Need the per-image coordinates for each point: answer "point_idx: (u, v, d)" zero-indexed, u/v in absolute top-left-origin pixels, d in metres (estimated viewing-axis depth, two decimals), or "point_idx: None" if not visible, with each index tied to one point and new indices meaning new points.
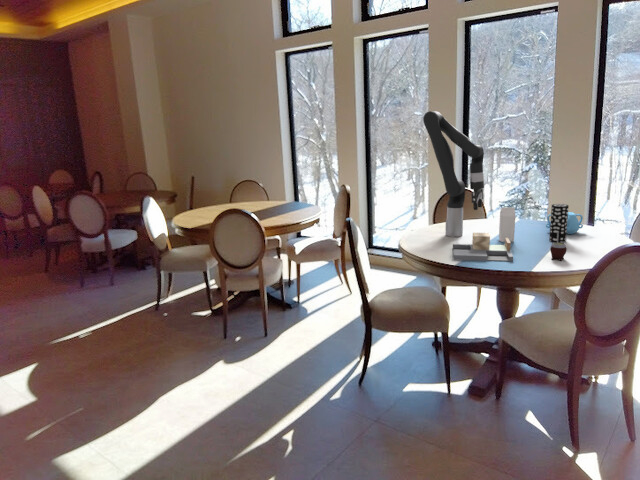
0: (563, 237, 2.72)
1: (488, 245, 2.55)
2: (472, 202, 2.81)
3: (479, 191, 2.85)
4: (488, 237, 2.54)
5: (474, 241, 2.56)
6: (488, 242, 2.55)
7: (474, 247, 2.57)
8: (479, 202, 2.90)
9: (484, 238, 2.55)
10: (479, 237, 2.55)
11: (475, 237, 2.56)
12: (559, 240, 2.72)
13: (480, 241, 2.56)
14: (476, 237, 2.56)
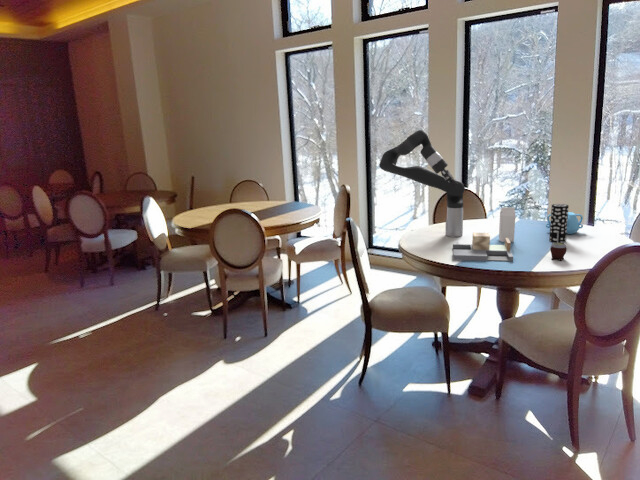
0: (563, 237, 2.72)
1: (488, 245, 2.55)
2: (448, 180, 2.55)
3: None
4: (488, 237, 2.54)
5: (474, 241, 2.56)
6: (488, 242, 2.55)
7: (474, 247, 2.57)
8: None
9: (484, 238, 2.55)
10: (479, 237, 2.55)
11: (475, 237, 2.56)
12: (559, 240, 2.72)
13: (480, 241, 2.56)
14: (476, 237, 2.56)
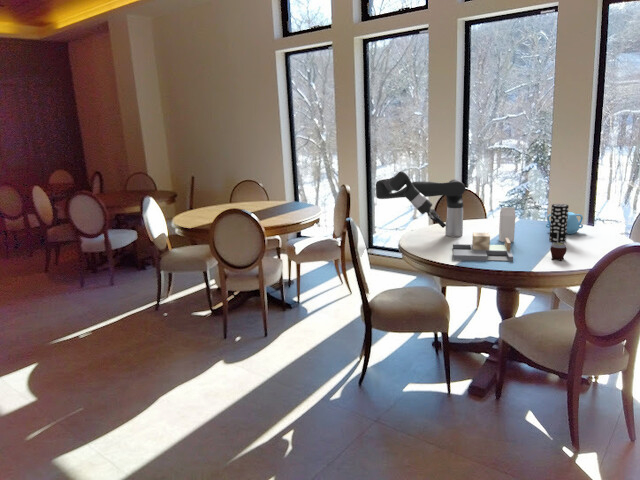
0: (563, 237, 2.72)
1: (488, 245, 2.55)
2: (437, 222, 2.59)
3: (431, 210, 2.62)
4: (488, 237, 2.54)
5: (474, 241, 2.56)
6: (488, 242, 2.55)
7: (474, 247, 2.57)
8: None
9: (484, 238, 2.55)
10: (479, 237, 2.55)
11: (475, 237, 2.56)
12: (559, 240, 2.72)
13: (480, 241, 2.56)
14: (476, 237, 2.56)
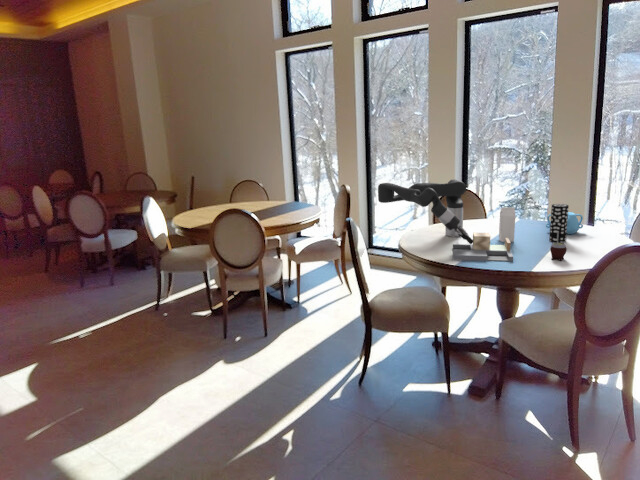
0: (563, 237, 2.72)
1: (488, 245, 2.55)
2: (465, 239, 2.58)
3: (459, 226, 2.60)
4: (488, 237, 2.54)
5: (474, 241, 2.56)
6: (488, 242, 2.55)
7: (474, 247, 2.57)
8: None
9: (484, 238, 2.55)
10: (479, 237, 2.55)
11: (475, 237, 2.56)
12: (559, 240, 2.72)
13: (480, 241, 2.56)
14: (476, 237, 2.56)
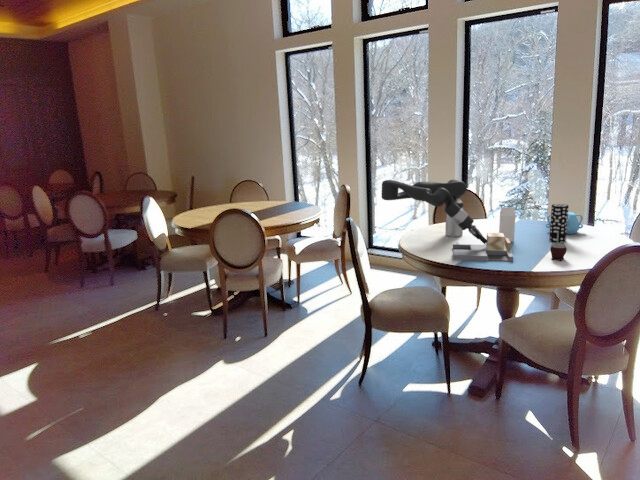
0: (563, 237, 2.72)
1: (503, 245, 2.53)
2: (479, 238, 2.57)
3: (472, 226, 2.59)
4: (503, 237, 2.52)
5: (488, 241, 2.55)
6: (502, 242, 2.53)
7: (488, 247, 2.55)
8: None
9: (499, 238, 2.53)
10: (493, 237, 2.54)
11: (489, 237, 2.54)
12: (559, 240, 2.72)
13: (494, 241, 2.54)
14: (490, 237, 2.54)
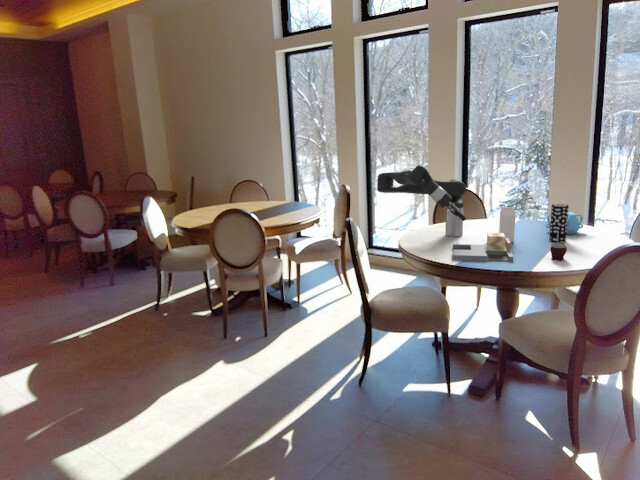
0: (563, 237, 2.72)
1: (503, 245, 2.53)
2: (457, 216, 2.56)
3: (451, 203, 2.58)
4: (503, 237, 2.52)
5: (489, 241, 2.55)
6: (503, 242, 2.53)
7: (489, 247, 2.55)
8: None
9: (499, 238, 2.53)
10: (494, 237, 2.54)
11: (490, 237, 2.54)
12: (559, 240, 2.72)
13: (495, 241, 2.54)
14: (491, 237, 2.54)
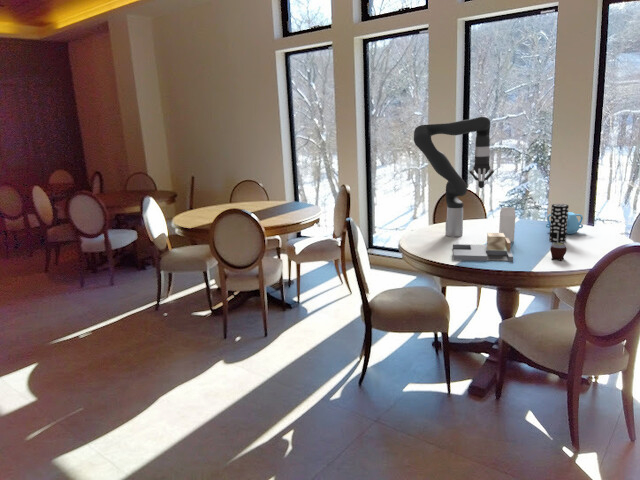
0: (563, 237, 2.72)
1: (503, 245, 2.53)
2: (486, 179, 2.63)
3: None
4: (503, 237, 2.52)
5: (489, 241, 2.55)
6: (503, 242, 2.53)
7: (489, 247, 2.55)
8: None
9: (499, 238, 2.53)
10: (494, 237, 2.54)
11: (490, 237, 2.54)
12: (559, 240, 2.72)
13: (495, 241, 2.54)
14: (491, 237, 2.54)
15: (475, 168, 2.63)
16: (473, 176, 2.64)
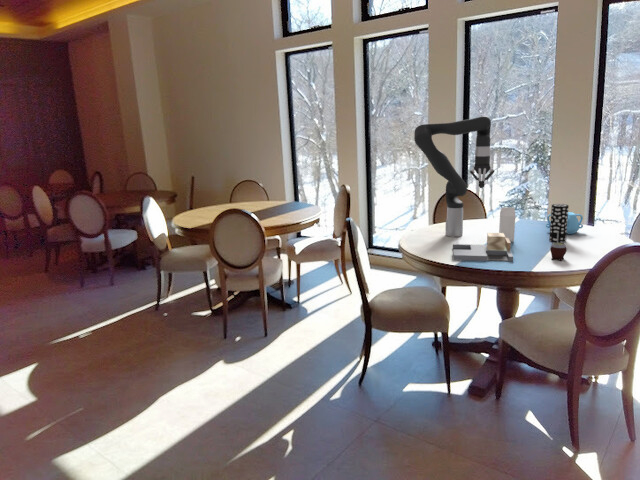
0: (563, 237, 2.72)
1: (503, 245, 2.53)
2: (487, 179, 2.63)
3: None
4: (503, 237, 2.52)
5: (489, 241, 2.55)
6: (503, 242, 2.53)
7: (489, 247, 2.55)
8: None
9: (499, 238, 2.53)
10: (494, 237, 2.54)
11: (490, 237, 2.54)
12: (559, 240, 2.72)
13: (495, 241, 2.54)
14: (491, 237, 2.54)
15: (475, 168, 2.63)
16: (473, 176, 2.64)
